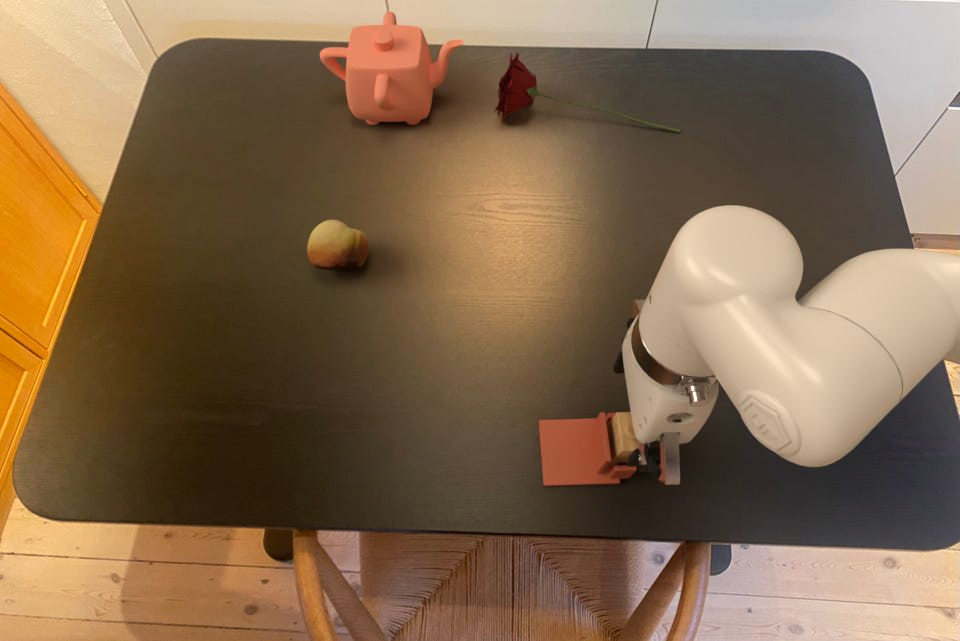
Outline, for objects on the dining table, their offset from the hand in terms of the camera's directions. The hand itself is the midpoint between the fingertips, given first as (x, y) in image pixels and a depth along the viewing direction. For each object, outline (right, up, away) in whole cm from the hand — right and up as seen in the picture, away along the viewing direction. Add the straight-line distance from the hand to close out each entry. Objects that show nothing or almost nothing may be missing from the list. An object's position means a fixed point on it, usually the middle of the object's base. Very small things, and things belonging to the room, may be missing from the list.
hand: (635, 414), depth 60 cm
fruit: (-35, +17, +26) cm, 47 cm away
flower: (+2, +42, +38) cm, 57 cm away
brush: (+3, -2, +4) cm, 5 cm away
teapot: (-29, +45, +40) cm, 67 cm away
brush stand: (-3, -7, +13) cm, 15 cm away
